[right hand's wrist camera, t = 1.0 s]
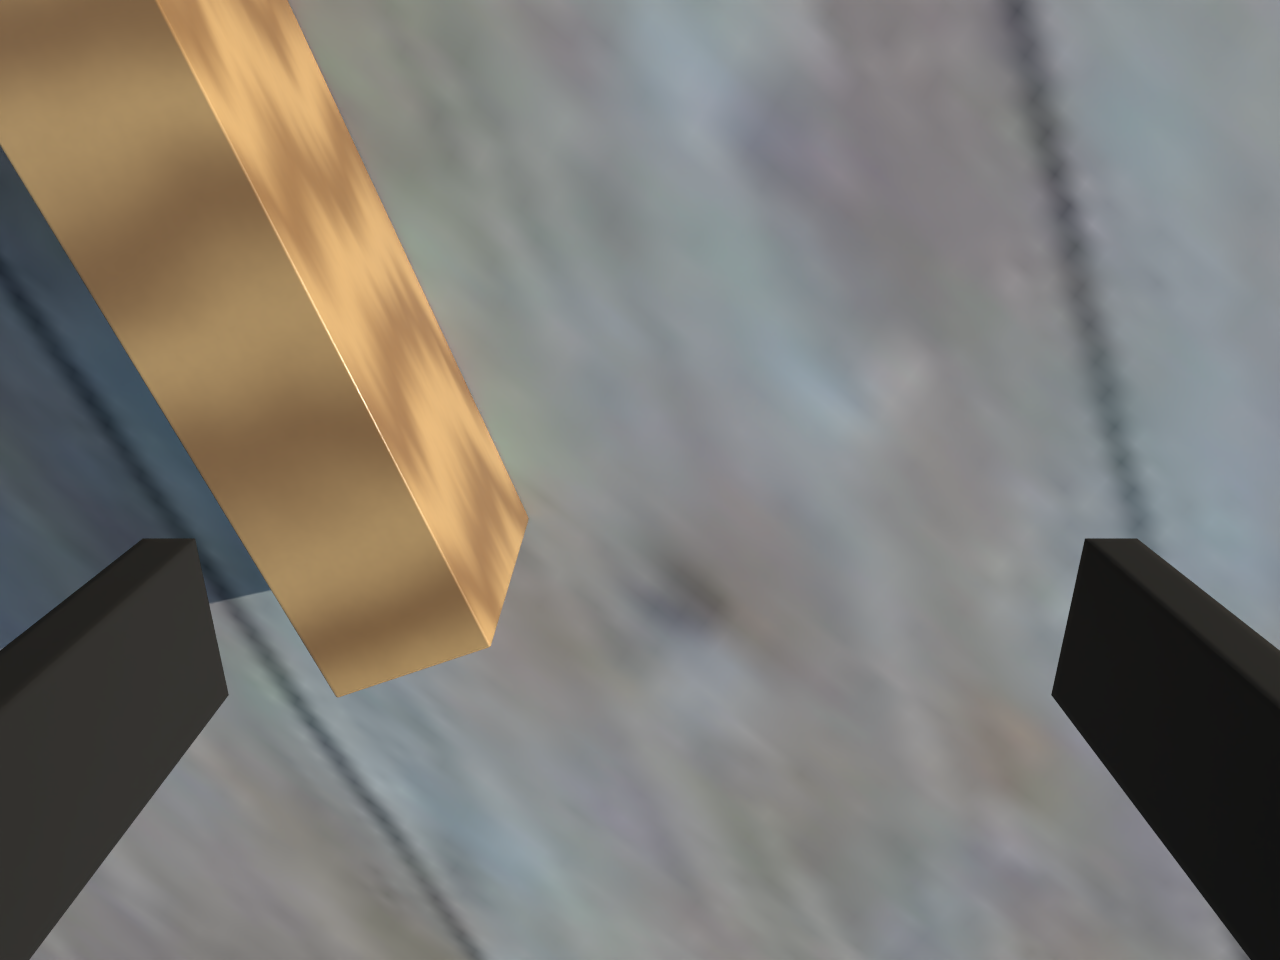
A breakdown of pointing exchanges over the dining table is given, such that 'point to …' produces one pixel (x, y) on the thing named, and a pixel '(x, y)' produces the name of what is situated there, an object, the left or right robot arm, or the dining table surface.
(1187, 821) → the right robot arm
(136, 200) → the post
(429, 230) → the dining table surface
